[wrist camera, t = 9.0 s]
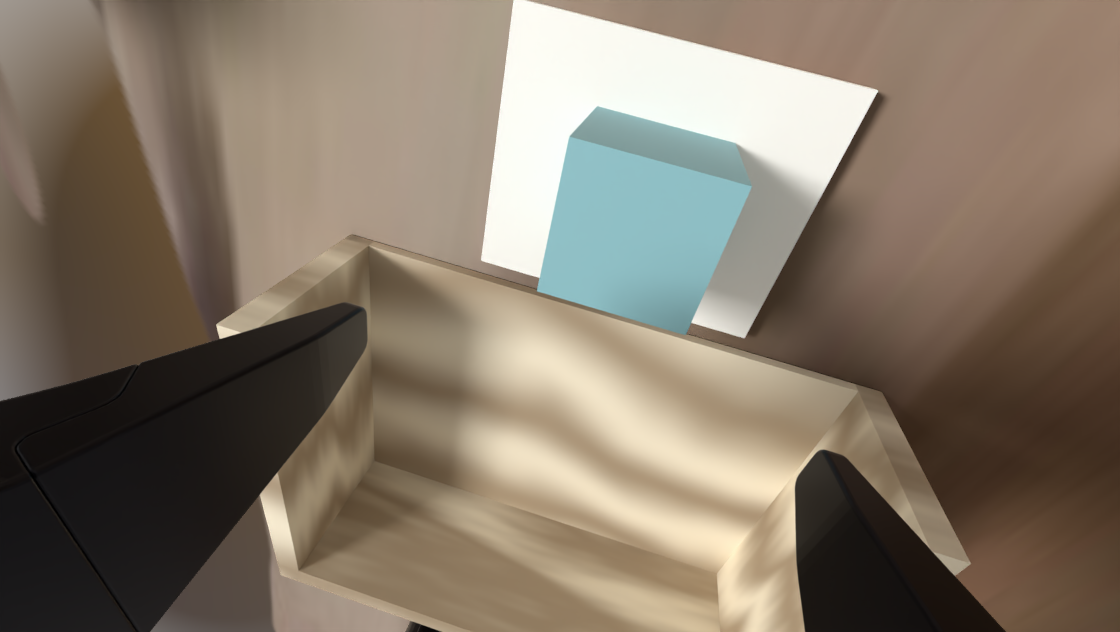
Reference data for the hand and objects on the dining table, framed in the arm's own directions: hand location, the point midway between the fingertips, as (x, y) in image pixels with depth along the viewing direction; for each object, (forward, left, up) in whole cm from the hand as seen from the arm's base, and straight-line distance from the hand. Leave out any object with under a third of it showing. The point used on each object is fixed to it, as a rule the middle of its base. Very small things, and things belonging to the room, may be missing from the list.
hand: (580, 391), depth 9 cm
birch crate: (-13, 0, -12) cm, 18 cm away
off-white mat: (+1, 0, -12) cm, 12 cm away
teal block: (+1, 0, -11) cm, 11 cm away
